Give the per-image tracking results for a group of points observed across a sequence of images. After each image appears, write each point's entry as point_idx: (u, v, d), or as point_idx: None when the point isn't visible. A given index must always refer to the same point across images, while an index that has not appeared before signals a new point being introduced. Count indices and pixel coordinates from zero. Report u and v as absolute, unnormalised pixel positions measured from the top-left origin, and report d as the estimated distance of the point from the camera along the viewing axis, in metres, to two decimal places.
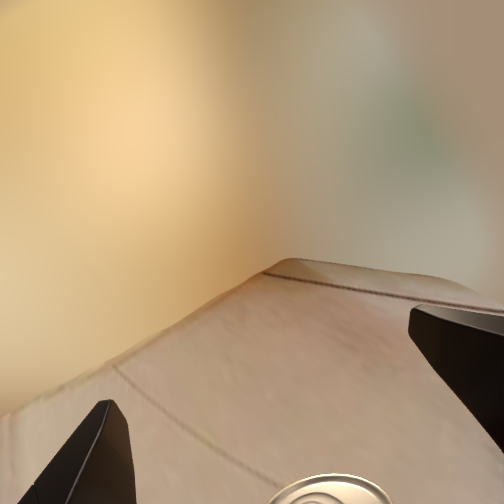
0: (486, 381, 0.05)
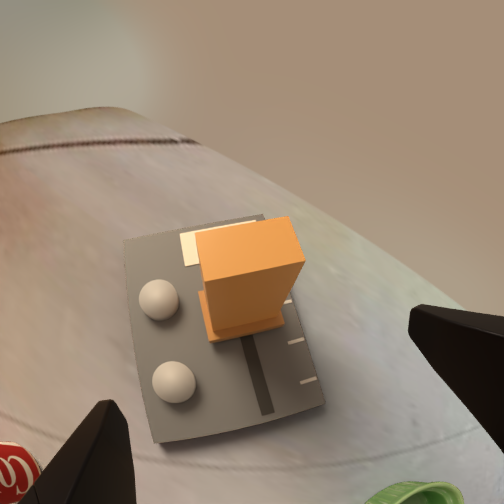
0: (486, 381, 0.05)
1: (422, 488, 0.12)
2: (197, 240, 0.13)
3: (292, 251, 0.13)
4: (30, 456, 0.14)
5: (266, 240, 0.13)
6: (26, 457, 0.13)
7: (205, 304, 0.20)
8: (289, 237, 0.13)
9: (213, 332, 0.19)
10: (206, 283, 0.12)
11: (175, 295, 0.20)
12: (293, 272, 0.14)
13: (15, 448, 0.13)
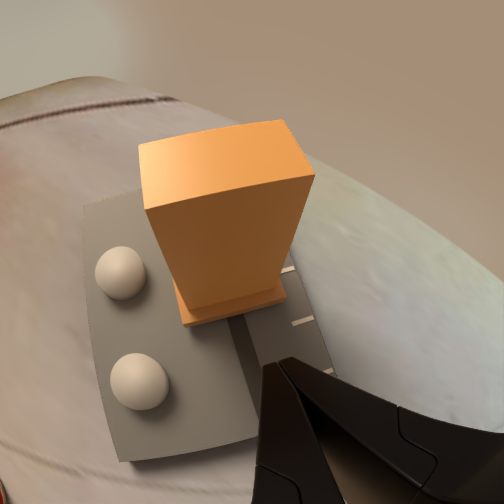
0: (345, 473, 0.04)
1: None
2: (141, 154, 0.08)
3: (292, 161, 0.08)
4: None
5: (249, 147, 0.08)
6: None
7: None
8: (286, 144, 0.08)
9: (188, 312, 0.14)
10: (149, 214, 0.07)
11: (140, 265, 0.15)
12: (296, 200, 0.09)
13: None
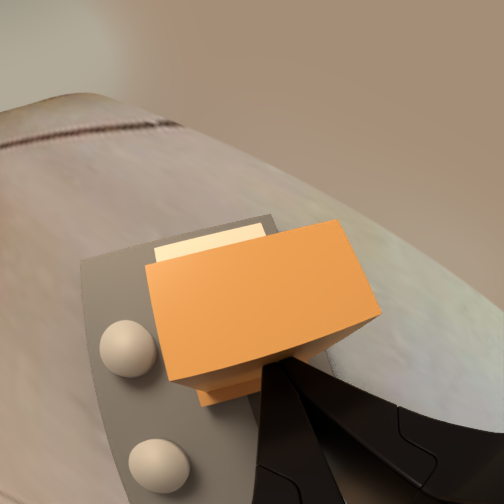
0: (345, 473, 0.04)
1: None
2: (150, 283, 0.06)
3: (355, 296, 0.06)
4: None
5: (300, 275, 0.06)
6: None
7: None
8: (346, 264, 0.06)
9: (207, 394, 0.12)
10: (175, 381, 0.05)
11: (149, 344, 0.13)
12: (351, 331, 0.07)
13: None
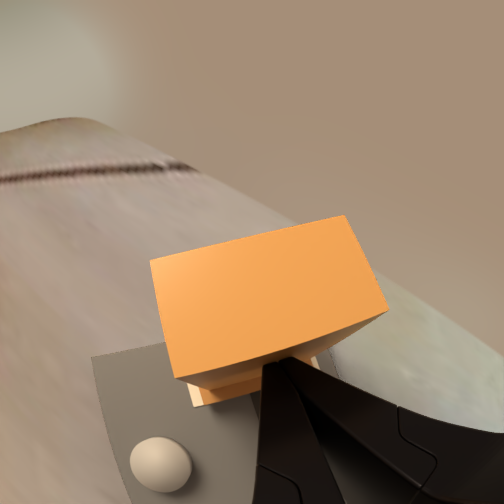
0: (345, 473, 0.04)
1: None
2: (155, 278, 0.06)
3: (363, 292, 0.06)
4: None
5: (307, 270, 0.06)
6: None
7: None
8: (353, 260, 0.06)
9: (209, 392, 0.12)
10: (180, 378, 0.05)
11: (186, 463, 0.10)
12: (357, 327, 0.07)
13: None
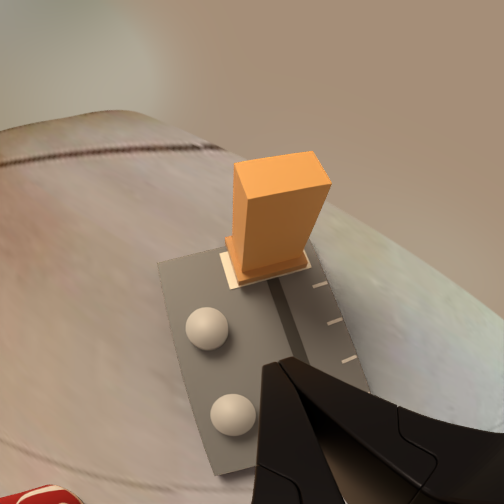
0: (345, 473, 0.04)
1: None
2: (237, 168, 0.14)
3: (320, 176, 0.15)
4: (76, 498, 0.13)
5: (297, 168, 0.15)
6: (72, 500, 0.12)
7: (232, 248, 0.22)
8: (316, 166, 0.15)
9: (242, 273, 0.21)
10: (249, 202, 0.14)
11: (226, 323, 0.19)
12: (321, 197, 0.15)
13: (60, 493, 0.12)
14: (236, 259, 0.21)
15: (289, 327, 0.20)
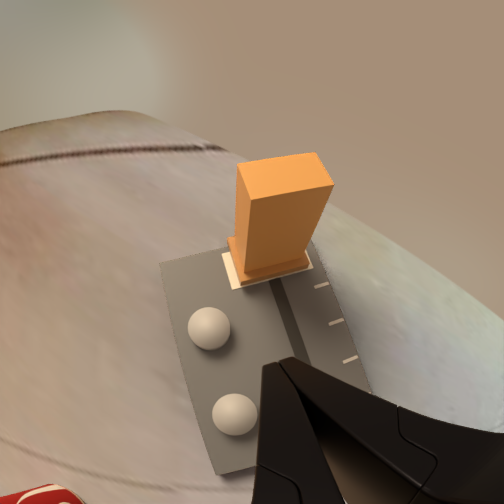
0: (345, 473, 0.04)
1: None
2: (240, 169, 0.15)
3: (322, 177, 0.15)
4: (77, 498, 0.13)
5: (299, 169, 0.15)
6: (73, 500, 0.13)
7: (235, 248, 0.22)
8: (318, 167, 0.15)
9: (244, 273, 0.21)
10: (252, 202, 0.14)
11: (228, 323, 0.19)
12: (323, 198, 0.15)
13: (60, 492, 0.12)
14: (238, 259, 0.21)
15: (291, 327, 0.20)
